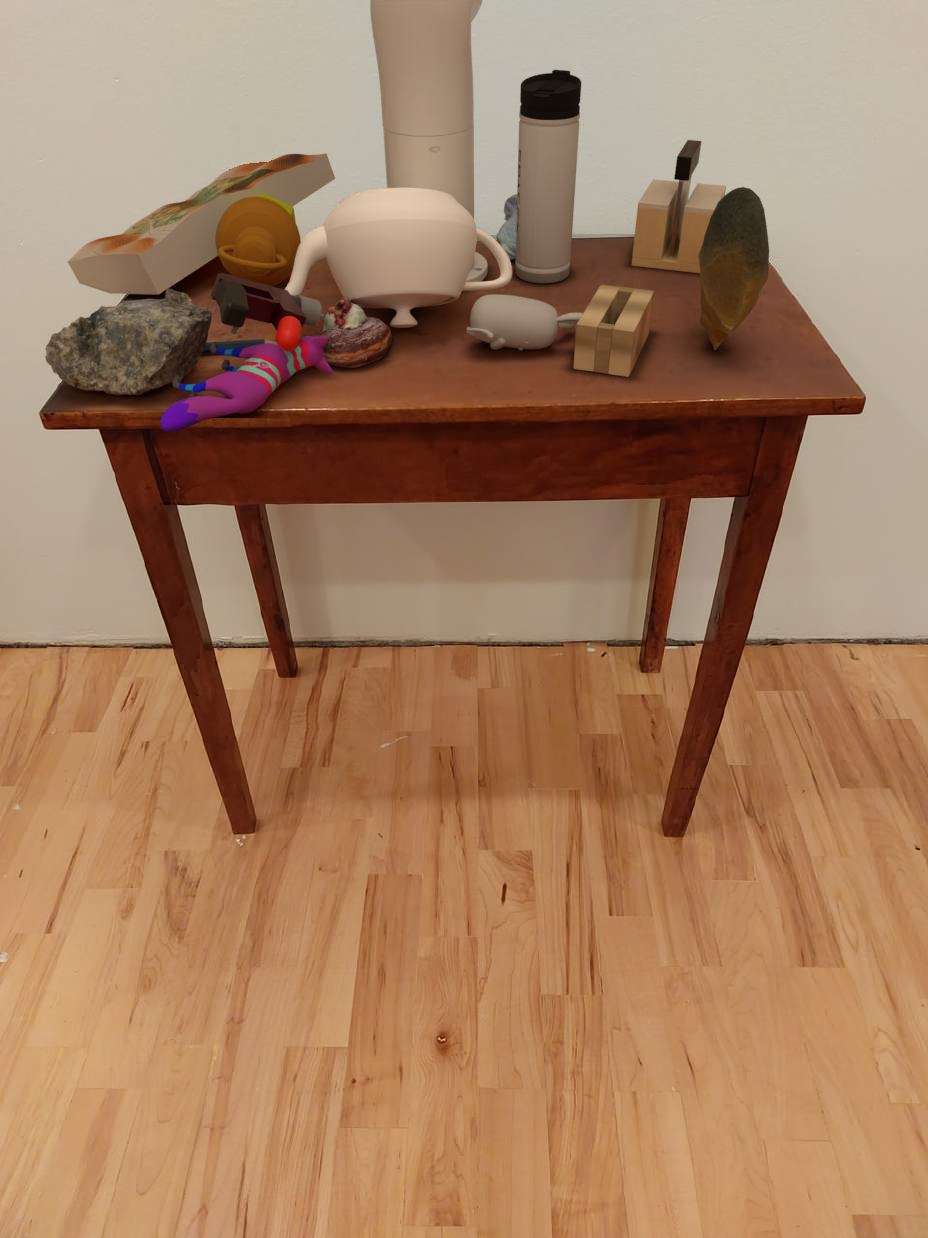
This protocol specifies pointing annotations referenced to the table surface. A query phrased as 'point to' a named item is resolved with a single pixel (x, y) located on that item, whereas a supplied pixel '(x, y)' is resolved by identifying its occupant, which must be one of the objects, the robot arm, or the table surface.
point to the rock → (131, 345)
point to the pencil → (237, 344)
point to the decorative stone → (732, 263)
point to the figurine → (509, 227)
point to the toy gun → (265, 308)
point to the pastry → (353, 336)
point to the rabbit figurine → (517, 322)
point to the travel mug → (546, 175)
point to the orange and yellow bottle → (258, 239)
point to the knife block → (613, 330)
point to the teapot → (398, 251)
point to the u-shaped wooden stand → (658, 225)
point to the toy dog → (243, 381)
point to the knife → (683, 187)
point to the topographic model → (191, 227)
